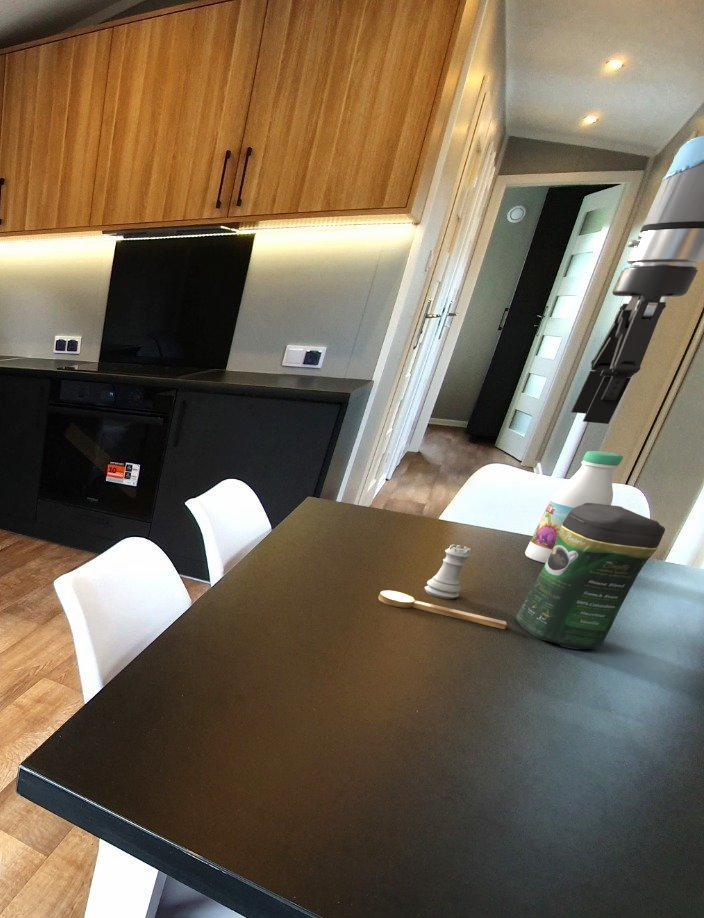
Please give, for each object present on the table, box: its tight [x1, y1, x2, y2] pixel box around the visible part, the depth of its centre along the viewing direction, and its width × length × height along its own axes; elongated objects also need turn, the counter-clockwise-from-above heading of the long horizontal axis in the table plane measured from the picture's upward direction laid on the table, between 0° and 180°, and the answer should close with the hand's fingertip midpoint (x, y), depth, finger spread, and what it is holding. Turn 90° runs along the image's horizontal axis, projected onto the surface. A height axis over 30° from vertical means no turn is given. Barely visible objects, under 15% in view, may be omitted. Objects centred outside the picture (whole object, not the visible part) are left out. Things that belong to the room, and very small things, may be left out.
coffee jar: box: [515, 503, 666, 650], centre depth 85 cm, size 10×8×19 cm
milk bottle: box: [525, 450, 624, 564], centre depth 113 cm, size 8×8×20 cm
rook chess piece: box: [424, 544, 472, 600], centre depth 100 cm, size 4×4×8 cm
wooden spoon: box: [378, 590, 508, 630], centre depth 95 cm, size 15×4×1 cm, turn 51°
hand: (588, 417), depth 100 cm, fingers open, 13 cm apart
